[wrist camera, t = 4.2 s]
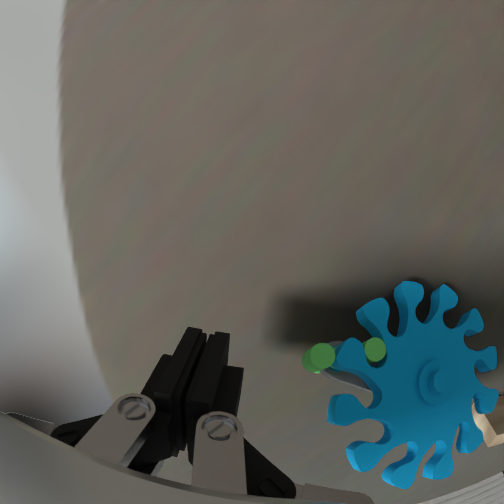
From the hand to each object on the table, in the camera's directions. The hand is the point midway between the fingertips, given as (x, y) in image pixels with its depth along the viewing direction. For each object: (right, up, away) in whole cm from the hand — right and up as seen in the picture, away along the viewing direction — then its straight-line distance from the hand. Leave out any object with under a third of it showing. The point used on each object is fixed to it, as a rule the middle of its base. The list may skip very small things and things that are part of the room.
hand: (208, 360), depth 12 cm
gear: (+10, 0, +3) cm, 10 cm away
